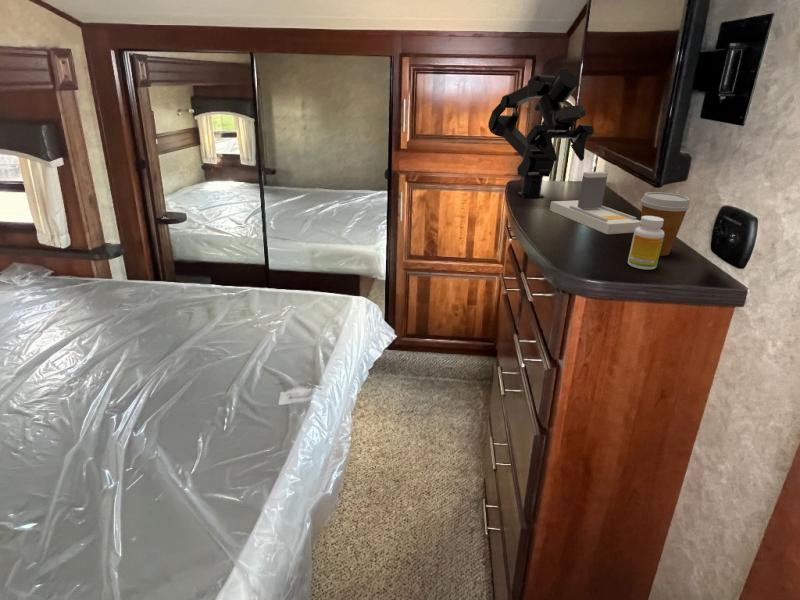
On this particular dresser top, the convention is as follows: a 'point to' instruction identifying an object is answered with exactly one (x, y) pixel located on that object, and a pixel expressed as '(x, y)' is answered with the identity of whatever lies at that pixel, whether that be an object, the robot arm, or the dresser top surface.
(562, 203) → the white slider track base
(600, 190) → the fader tab
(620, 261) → the dresser top surface
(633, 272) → the dresser top surface
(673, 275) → the dresser top surface
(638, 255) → the supplement bottle
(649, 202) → the disposable coffee cup
